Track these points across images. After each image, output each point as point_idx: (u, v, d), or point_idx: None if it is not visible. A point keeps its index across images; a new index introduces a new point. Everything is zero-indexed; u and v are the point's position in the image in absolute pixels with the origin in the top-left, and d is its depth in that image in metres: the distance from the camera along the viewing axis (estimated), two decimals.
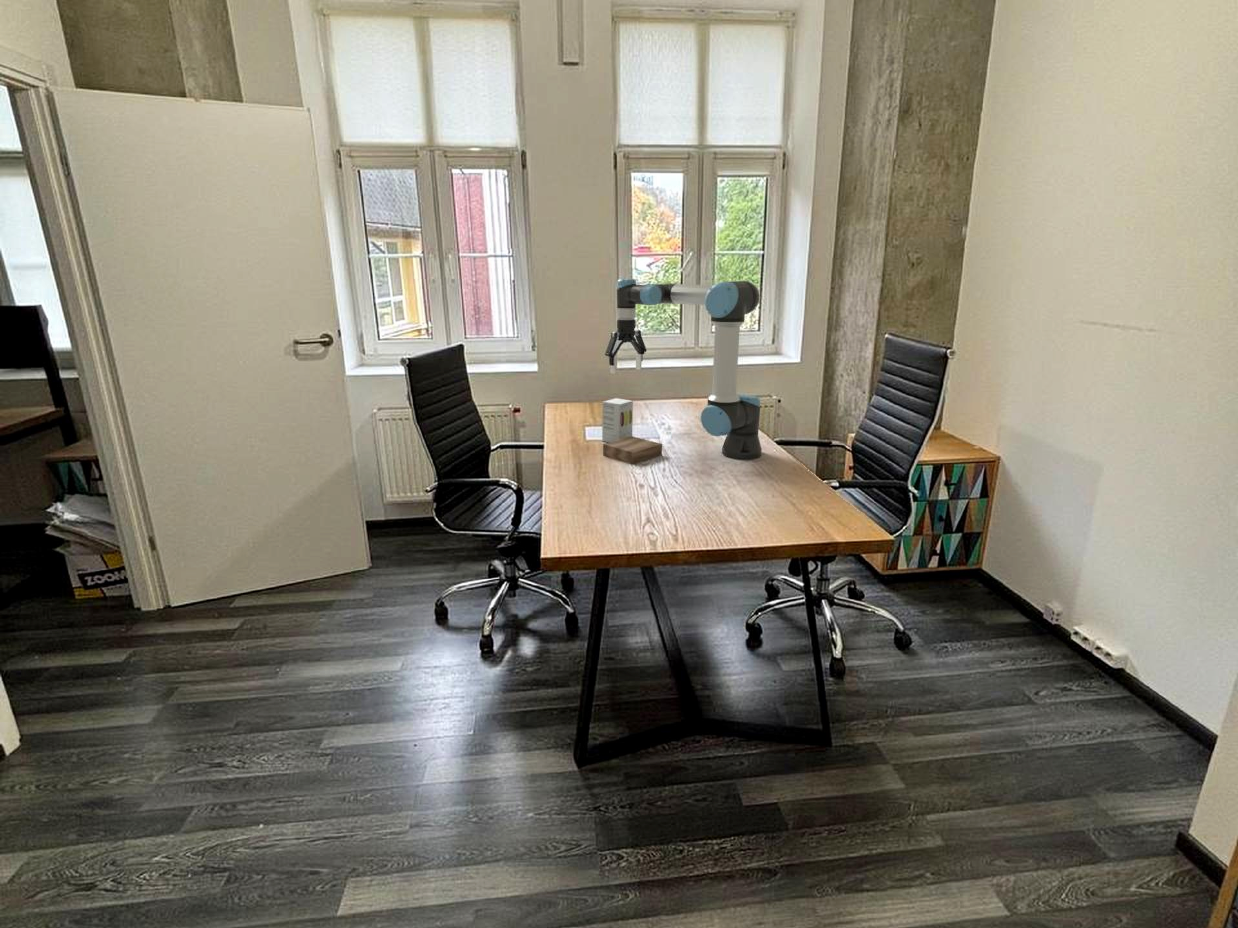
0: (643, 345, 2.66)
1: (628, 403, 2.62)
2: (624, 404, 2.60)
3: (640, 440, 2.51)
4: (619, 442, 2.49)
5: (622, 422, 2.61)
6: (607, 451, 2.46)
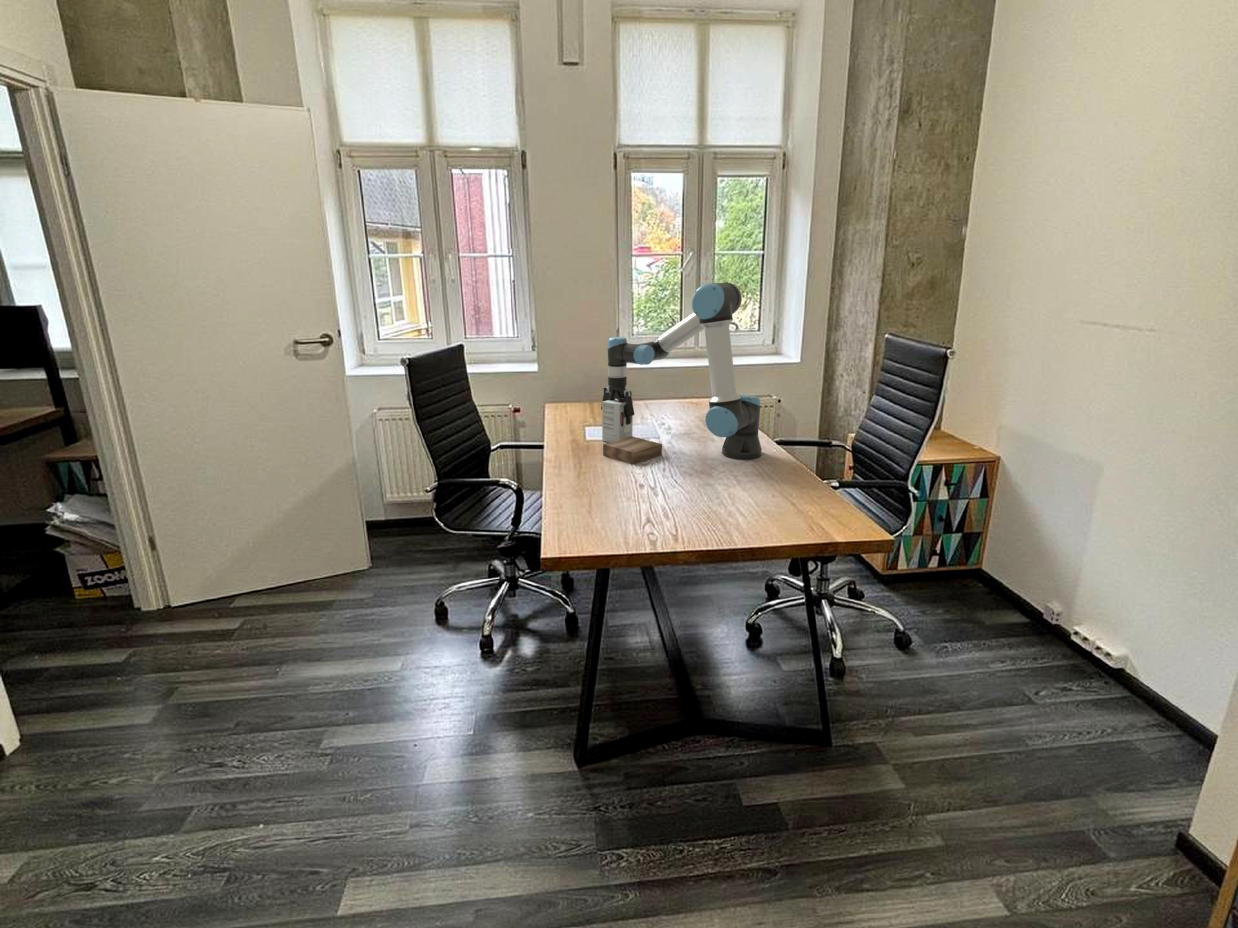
0: (628, 408, 2.58)
1: None
2: (624, 404, 2.60)
3: (640, 440, 2.51)
4: (619, 442, 2.49)
5: (622, 422, 2.61)
6: (607, 451, 2.46)
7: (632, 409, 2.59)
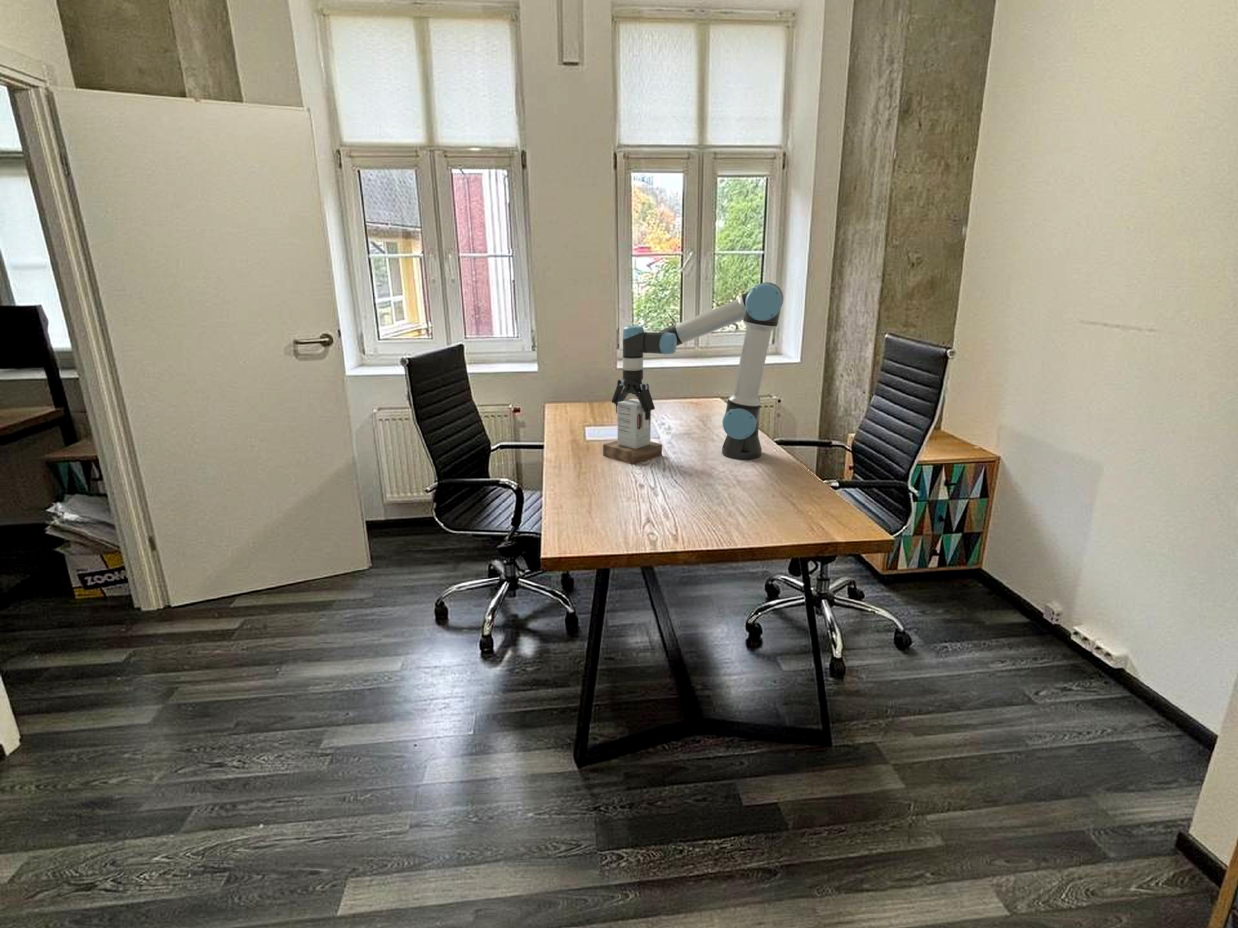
0: (647, 402, 2.35)
1: None
2: (641, 405, 2.38)
3: None
4: None
5: (639, 424, 2.39)
6: (607, 451, 2.46)
7: (651, 403, 2.36)
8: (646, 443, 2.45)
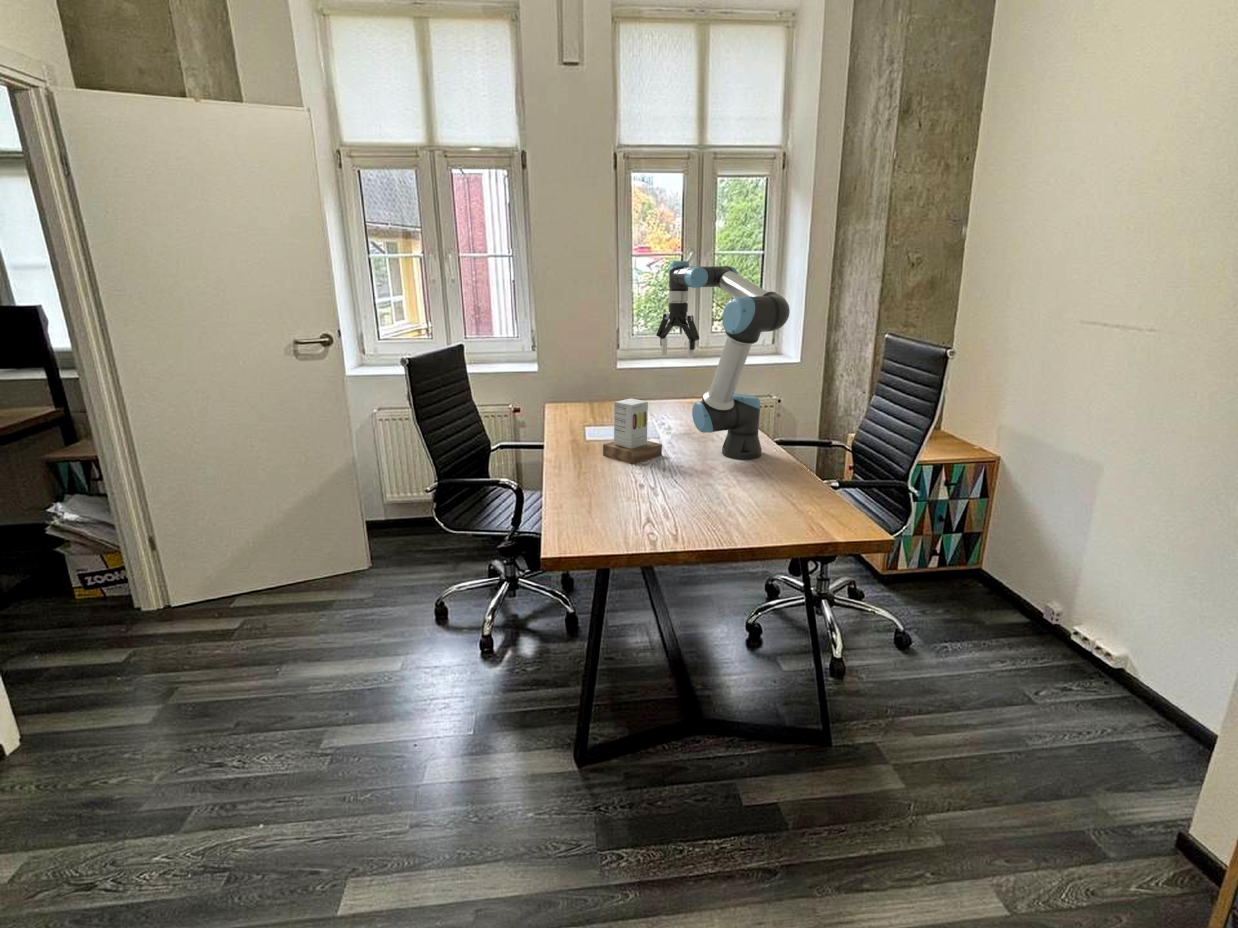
0: (692, 332, 2.50)
1: (642, 404, 2.40)
2: (637, 405, 2.38)
3: None
4: None
5: (634, 424, 2.39)
6: (607, 451, 2.46)
7: (696, 333, 2.50)
8: (642, 443, 2.45)
